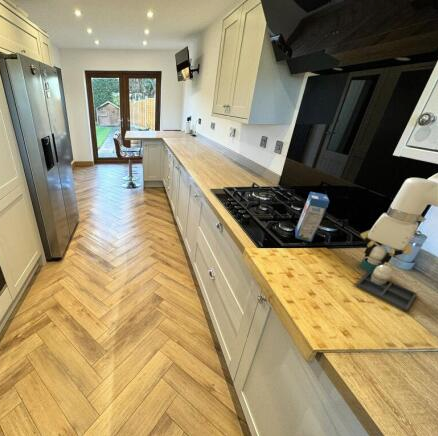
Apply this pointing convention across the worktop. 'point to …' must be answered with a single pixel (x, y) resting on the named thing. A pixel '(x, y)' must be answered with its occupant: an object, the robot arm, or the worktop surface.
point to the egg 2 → (381, 274)
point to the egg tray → (388, 292)
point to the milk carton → (311, 216)
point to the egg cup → (368, 265)
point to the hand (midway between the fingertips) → (374, 258)
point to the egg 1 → (377, 255)
